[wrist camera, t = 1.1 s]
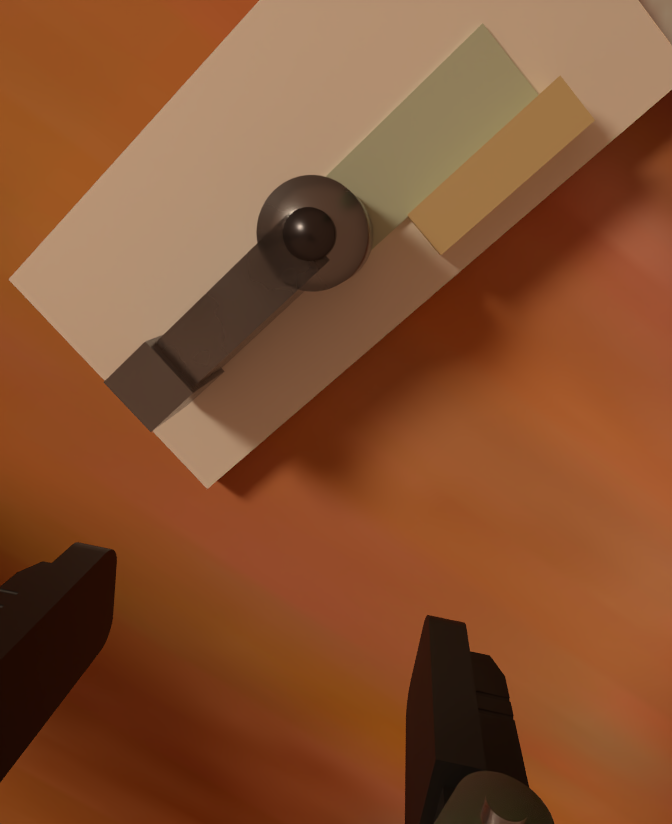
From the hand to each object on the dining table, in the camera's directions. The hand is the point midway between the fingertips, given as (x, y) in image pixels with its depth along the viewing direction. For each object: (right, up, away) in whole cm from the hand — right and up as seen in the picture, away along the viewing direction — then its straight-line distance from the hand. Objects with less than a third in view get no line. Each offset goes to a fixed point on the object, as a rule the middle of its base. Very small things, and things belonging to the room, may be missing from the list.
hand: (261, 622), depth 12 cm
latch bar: (-2, +9, +15) cm, 17 cm away
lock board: (+1, +14, +15) cm, 20 cm away
